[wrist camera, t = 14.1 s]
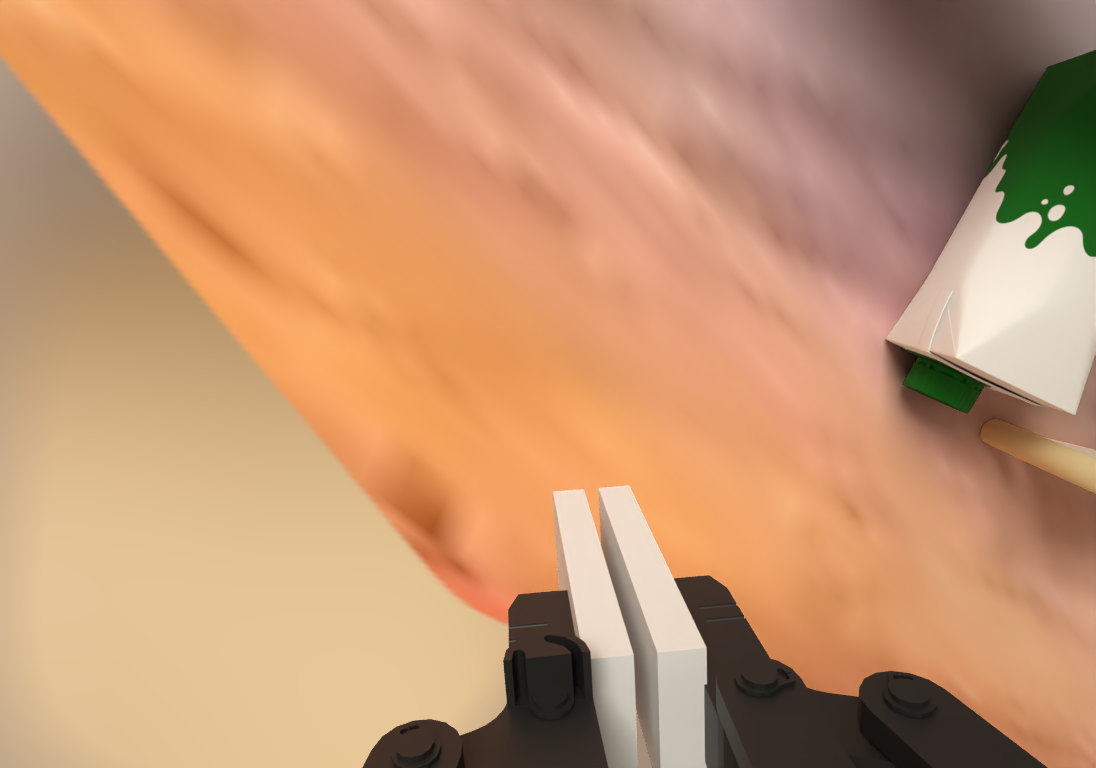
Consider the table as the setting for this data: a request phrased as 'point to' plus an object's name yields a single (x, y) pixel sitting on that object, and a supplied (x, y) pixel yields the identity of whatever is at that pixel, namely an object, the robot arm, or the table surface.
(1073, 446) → the gate
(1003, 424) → the fence
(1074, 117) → the milk carton
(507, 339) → the table surface
